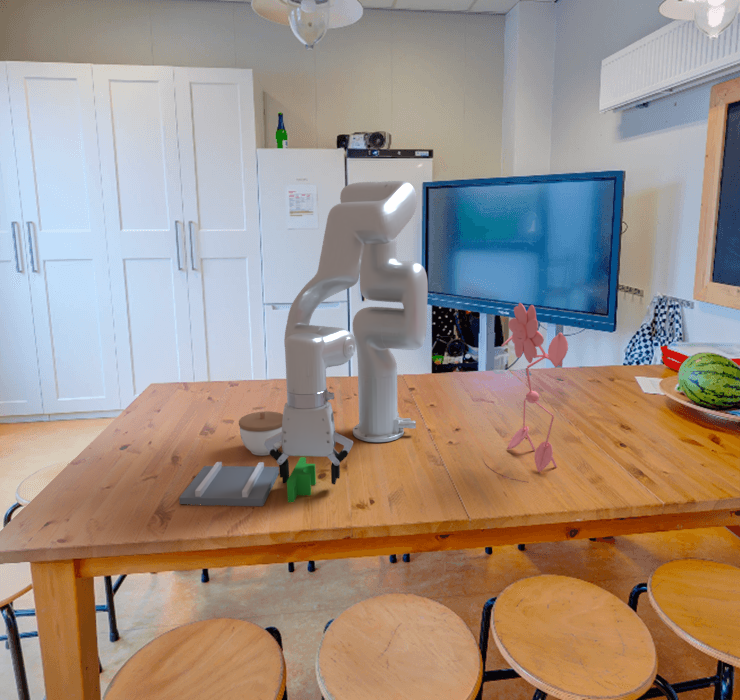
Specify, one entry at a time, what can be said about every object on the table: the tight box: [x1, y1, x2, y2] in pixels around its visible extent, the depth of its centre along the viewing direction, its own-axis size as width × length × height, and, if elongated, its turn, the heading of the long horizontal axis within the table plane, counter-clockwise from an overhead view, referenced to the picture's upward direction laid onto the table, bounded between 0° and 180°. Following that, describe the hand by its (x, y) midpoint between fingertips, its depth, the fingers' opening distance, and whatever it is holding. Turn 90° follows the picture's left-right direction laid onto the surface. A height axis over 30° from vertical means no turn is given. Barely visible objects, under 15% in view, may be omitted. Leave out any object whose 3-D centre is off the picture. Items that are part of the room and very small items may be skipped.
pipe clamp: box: [286, 456, 317, 503], centre depth 114 cm, size 11×4×5 cm, turn 173°
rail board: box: [178, 461, 280, 507], centre depth 115 cm, size 16×14×3 cm
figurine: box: [482, 302, 569, 483], centre depth 121 cm, size 15×26×35 cm, turn 13°
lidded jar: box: [238, 411, 283, 457], centre depth 132 cm, size 11×11×9 cm
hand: (310, 481), depth 113 cm, fingers open, 9 cm apart
